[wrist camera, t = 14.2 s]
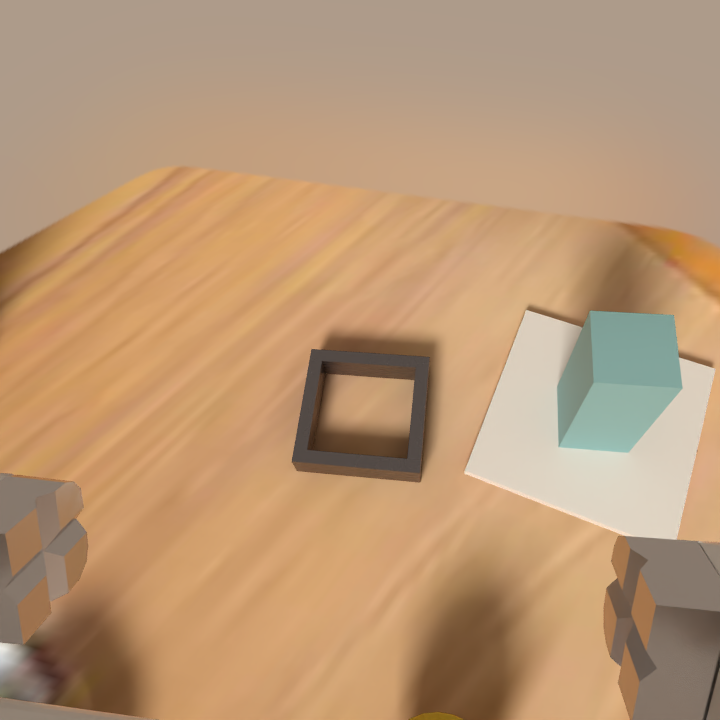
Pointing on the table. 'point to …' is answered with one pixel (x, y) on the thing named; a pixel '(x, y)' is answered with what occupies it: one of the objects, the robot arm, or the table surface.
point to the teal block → (617, 380)
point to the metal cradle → (356, 463)
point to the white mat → (581, 466)
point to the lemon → (436, 716)
